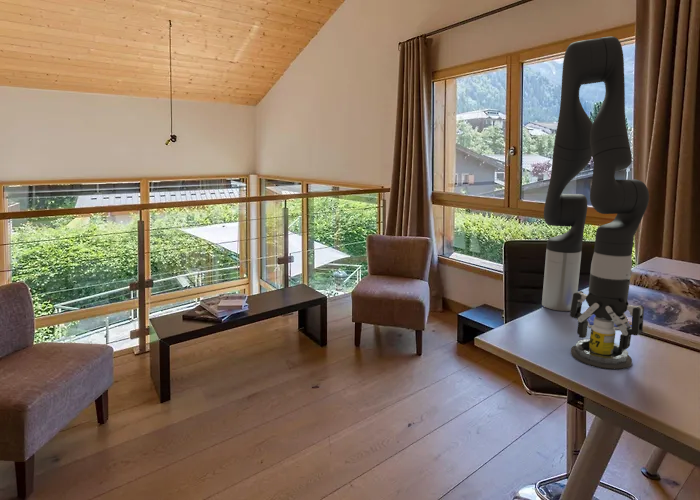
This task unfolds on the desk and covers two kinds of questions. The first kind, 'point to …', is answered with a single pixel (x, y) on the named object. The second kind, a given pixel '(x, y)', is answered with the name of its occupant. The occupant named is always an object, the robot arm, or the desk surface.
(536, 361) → the desk surface
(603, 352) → the supplement bottle
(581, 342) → the grey flat ring
